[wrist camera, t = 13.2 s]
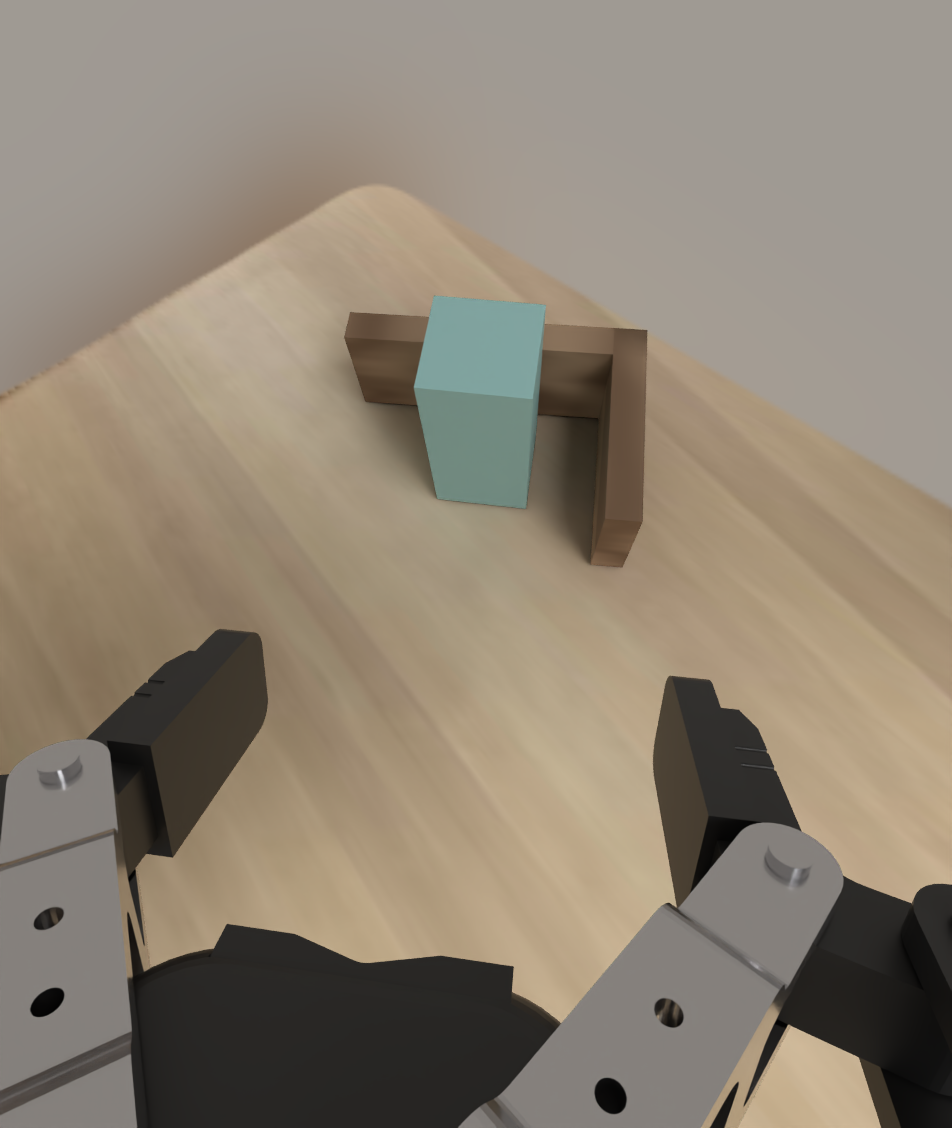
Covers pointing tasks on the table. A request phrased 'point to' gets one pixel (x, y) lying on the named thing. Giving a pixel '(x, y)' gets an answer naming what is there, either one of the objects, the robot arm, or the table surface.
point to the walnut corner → (545, 403)
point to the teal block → (481, 398)
